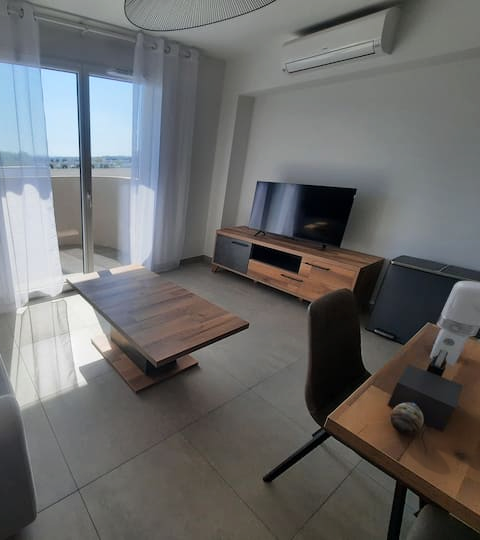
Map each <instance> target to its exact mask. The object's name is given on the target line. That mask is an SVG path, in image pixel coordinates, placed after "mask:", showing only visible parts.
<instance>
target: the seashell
mask: <svg viewBox="0 0 480 540" xmlns="http://www.w3.org/2000/svg"><path fill="white" fill-rule="evenodd" d="M423 422H424V419H423V414H422V412H421V410H420V409H419V408H418V406H417V405H416V404H414V403H402V404H399V405H398V406H396V407H395V408H392V410H391V413H390V423H391V425H392V427H393V429H394V430H395V431H396V432H397V433H399V434H402V435H405V436H406V435H407V436H409V435H415V434H416V433H418V432H419V431H420V430H421V429H422V428H423V426H424V423H423Z"/></svg>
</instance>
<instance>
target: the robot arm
mask: <svg viewBox="0 0 480 540" xmlns="http://www.w3.org/2000/svg"><path fill="white" fill-rule="evenodd" d="M436 325H437V326H438V328H440V330H439V332H438V335H437V337H436V338H437V339H436V341H435V344H433V347H432V350H431V352H430V356H429V358H430V359H431V361H430V362H429V364H428V366H427V368H426V370H425V371H428V372H430V373H433V374H435V375H438V376H441V377H443V374H444V372H445V371H446V369H447V367H446V366H449V367H455V365H456V363H457V361H458V360H459V357H460V356H461V354H462V352H463V350H464V347H465V346H466V344H467V342H468V339H469V337H475V336H477V334H478V332H479V330H480V282H479V281H473V280H459V281H457V282H456V283H455V284H454V285H453V287H452V289H451V292H450V293H449V296H448V297H447V300H446V302H445V304H444V307H443V309H442V312H441V313H440V315H439V317H438V319H437V322H436Z"/></svg>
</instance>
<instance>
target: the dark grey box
mask: <svg viewBox="0 0 480 540" xmlns="http://www.w3.org/2000/svg"><path fill="white" fill-rule="evenodd" d="M463 386H464V385H463V384H461V383H459V382H456V381H453V380H450V379H448V378H445V377H443V376H442V377H441V376H438V375H435V374H433V373H430V372H428V371H426V370H425V369H423V368H420V367H417V366H416V365H413V364H411V363H408V364H406V367H405V369H404V370H403V372H402V374H401V375H400V377H399V379H398V380H397V382H396V384H395V387H394V389H393V391H392V393H391V396H390V398H389V400H388V402H387V406H389V407H390V408H392V409H394V408H395V407H396V406H398V405H399V404H402V403H414V404H416V405H417V406H418V408H419V409H420V410H421V412H422V414H423V419H424V422H423V424H425V425H426V426H429V427H431V428H433V429H435V430H437V431H439V432H441V433H443V432H444V430H445V429H446V426H447V425H448V423H449V422H450V420H451V418H452V416H453V414H454V413H455V410H456V409H457V405H458V402H459V399H460V396H461V393H462V389H463Z"/></svg>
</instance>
